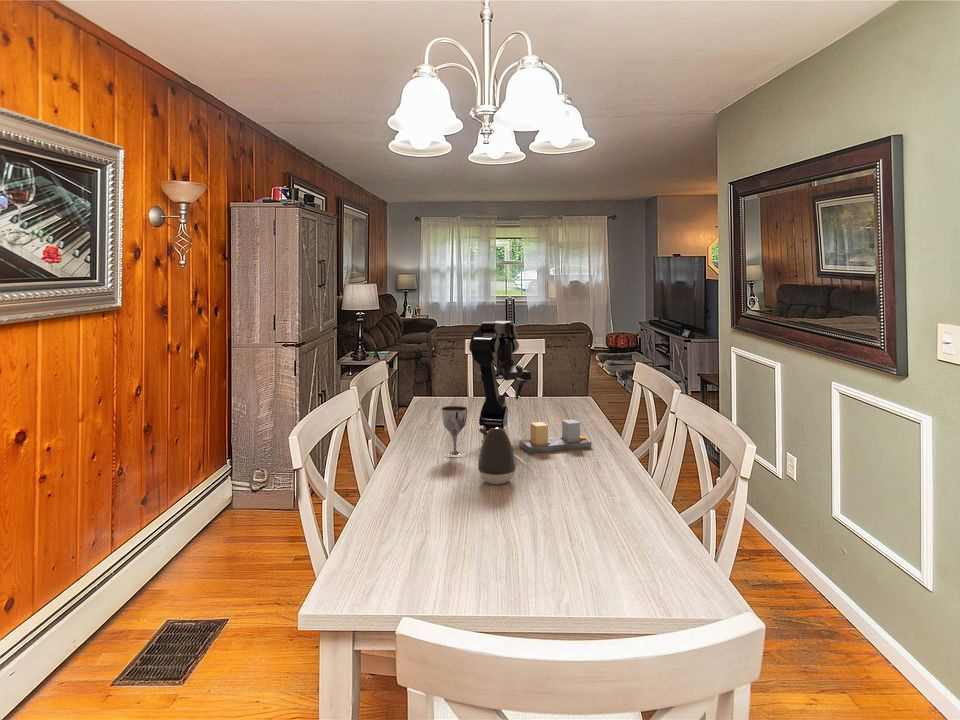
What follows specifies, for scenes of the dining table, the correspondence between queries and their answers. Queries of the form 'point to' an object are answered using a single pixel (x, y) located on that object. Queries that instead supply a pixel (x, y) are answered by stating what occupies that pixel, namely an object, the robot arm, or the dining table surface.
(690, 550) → the dining table surface
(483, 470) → the dark grey egg shape
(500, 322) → the robot arm
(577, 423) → the grey-blue plug
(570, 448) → the grey socket board
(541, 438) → the ochre plug
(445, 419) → the wine glass
